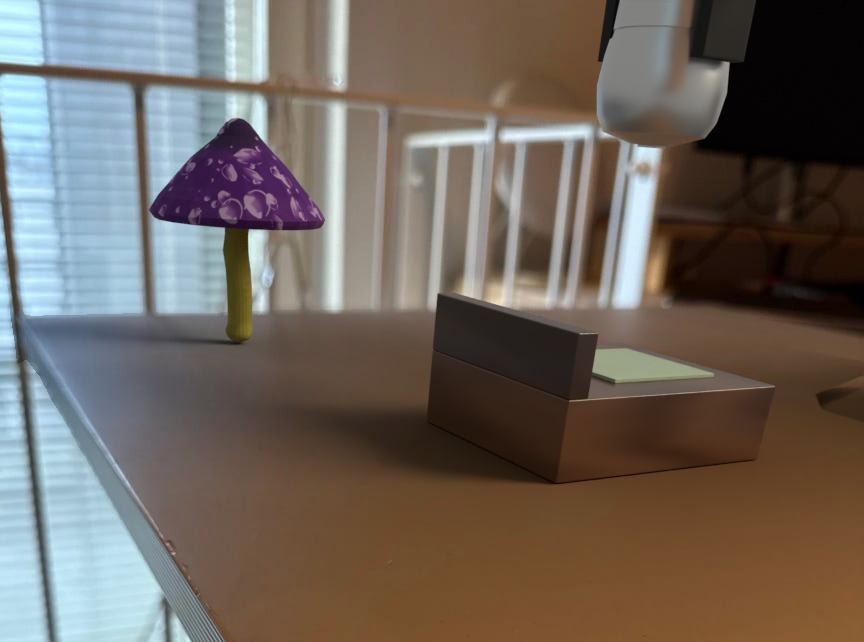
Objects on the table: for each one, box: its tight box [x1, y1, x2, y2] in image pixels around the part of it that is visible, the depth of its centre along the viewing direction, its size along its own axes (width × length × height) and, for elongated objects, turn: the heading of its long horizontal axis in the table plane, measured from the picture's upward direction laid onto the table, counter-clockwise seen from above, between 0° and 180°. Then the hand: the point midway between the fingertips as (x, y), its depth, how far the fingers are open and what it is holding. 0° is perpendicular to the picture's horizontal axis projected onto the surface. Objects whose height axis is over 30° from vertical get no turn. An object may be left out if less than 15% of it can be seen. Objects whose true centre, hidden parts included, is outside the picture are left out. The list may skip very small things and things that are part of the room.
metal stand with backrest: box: [426, 292, 776, 484], centre depth 52 cm, size 14×12×7 cm
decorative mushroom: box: [148, 117, 326, 344], centre depth 69 cm, size 12×12×15 cm
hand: (667, 60), depth 48 cm, fingers closed on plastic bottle, 6 cm apart
